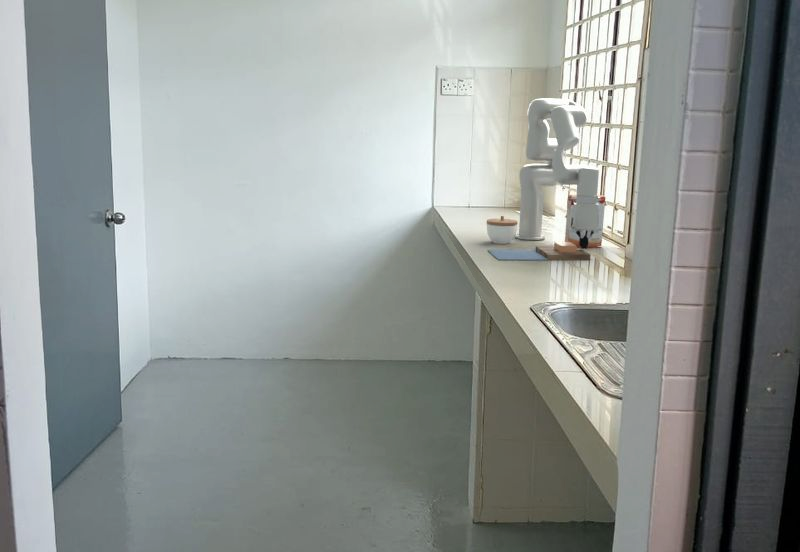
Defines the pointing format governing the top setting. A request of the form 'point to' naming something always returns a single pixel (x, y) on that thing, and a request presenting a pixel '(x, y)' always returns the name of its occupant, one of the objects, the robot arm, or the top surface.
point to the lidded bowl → (501, 230)
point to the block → (565, 247)
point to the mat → (517, 255)
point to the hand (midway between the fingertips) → (583, 248)
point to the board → (562, 254)
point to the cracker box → (574, 238)
